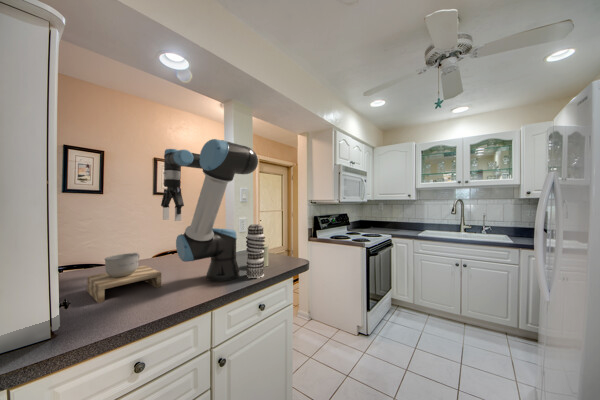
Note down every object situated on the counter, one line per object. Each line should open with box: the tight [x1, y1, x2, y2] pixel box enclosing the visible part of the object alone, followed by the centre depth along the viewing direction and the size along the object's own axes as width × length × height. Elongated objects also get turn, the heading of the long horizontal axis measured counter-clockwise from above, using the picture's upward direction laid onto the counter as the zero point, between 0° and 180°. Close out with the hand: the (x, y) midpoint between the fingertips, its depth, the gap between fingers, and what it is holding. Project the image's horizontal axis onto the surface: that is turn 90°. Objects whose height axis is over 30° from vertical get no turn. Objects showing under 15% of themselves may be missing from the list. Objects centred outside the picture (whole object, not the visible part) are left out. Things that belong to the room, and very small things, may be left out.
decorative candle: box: [245, 223, 266, 279], centre depth 109 cm, size 9×9×25 cm
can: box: [263, 244, 269, 268], centre depth 127 cm, size 9×9×12 cm
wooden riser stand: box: [86, 265, 162, 304], centre depth 91 cm, size 18×20×6 cm
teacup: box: [104, 252, 140, 277], centre depth 92 cm, size 14×11×8 cm
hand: (171, 220), depth 115 cm, fingers open, 13 cm apart
